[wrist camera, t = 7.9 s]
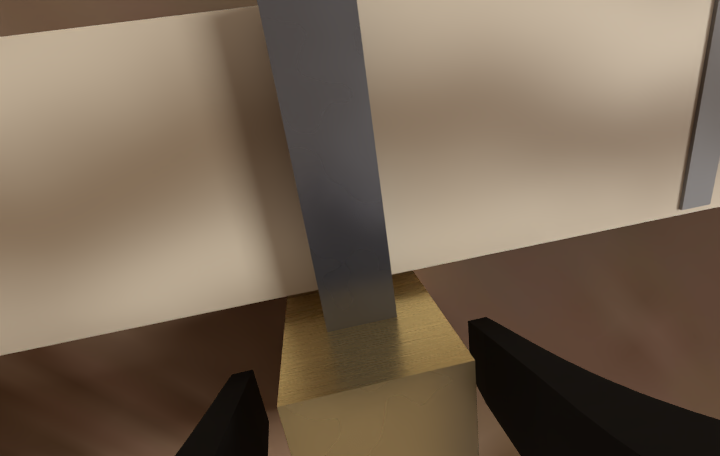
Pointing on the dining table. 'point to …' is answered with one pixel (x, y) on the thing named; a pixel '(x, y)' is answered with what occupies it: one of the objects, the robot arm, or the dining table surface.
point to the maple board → (392, 141)
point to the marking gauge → (355, 268)
